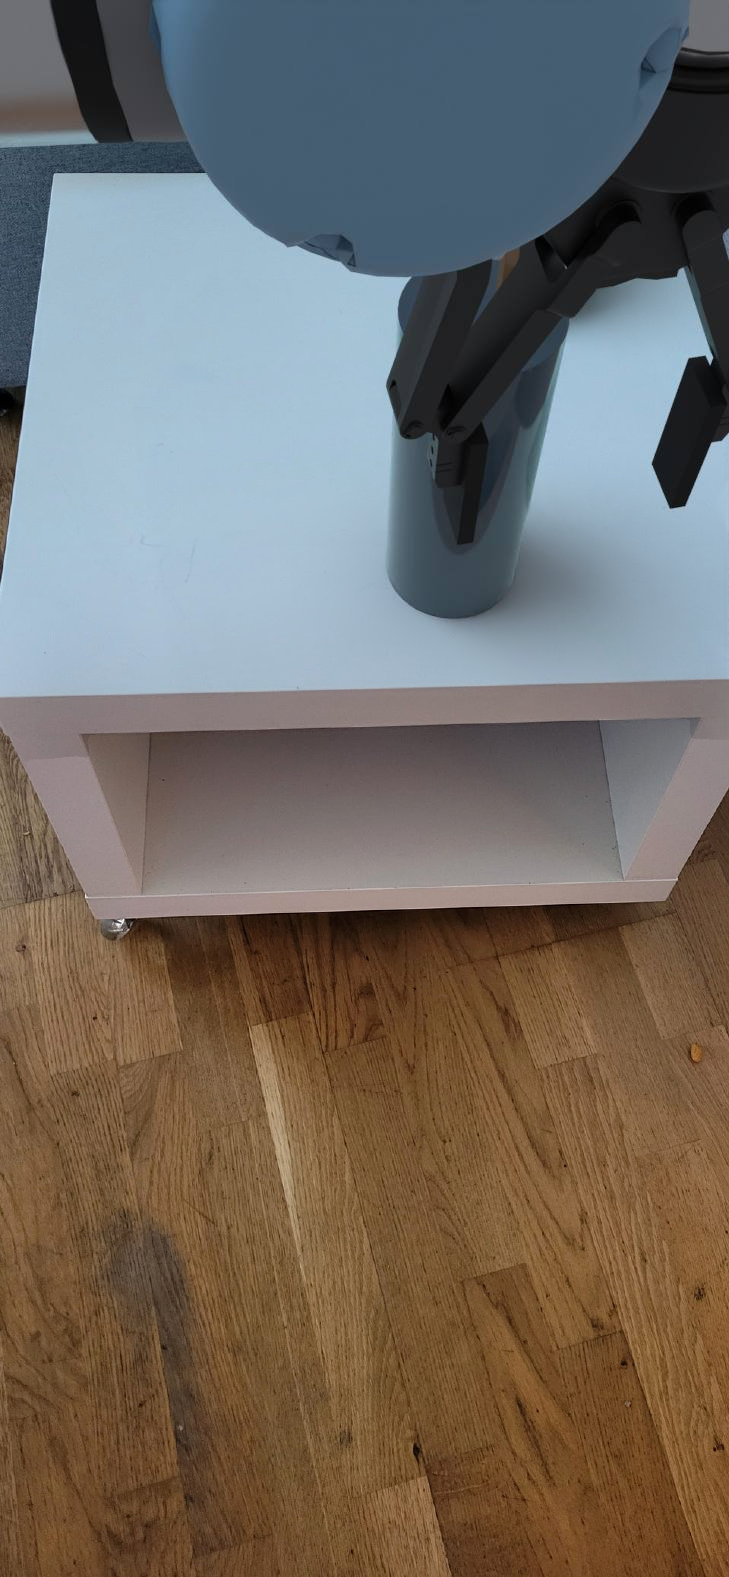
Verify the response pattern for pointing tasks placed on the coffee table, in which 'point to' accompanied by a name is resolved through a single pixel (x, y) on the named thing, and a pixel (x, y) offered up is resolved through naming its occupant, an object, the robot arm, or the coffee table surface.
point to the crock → (417, 514)
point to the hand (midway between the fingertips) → (564, 502)
